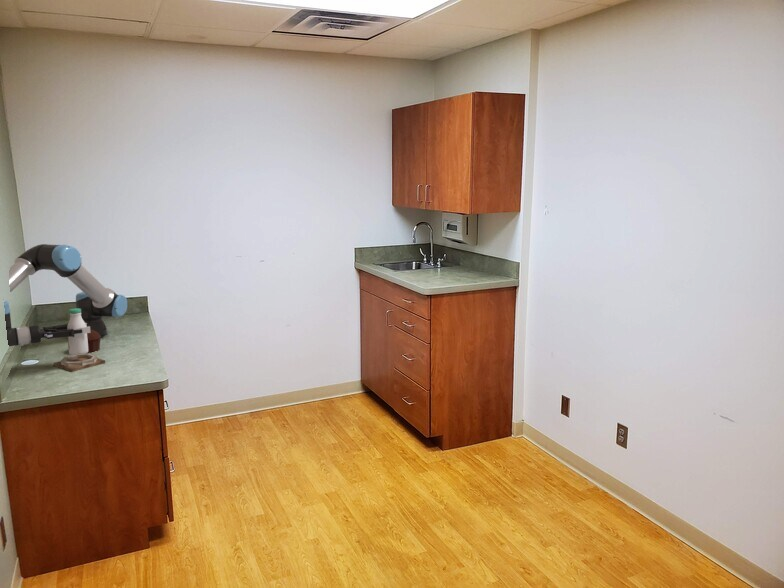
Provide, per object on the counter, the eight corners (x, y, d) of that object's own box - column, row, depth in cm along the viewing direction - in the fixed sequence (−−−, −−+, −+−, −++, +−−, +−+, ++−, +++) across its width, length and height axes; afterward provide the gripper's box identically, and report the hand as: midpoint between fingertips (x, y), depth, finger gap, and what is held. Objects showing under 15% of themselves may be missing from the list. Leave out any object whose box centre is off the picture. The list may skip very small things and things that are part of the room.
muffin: (103, 352, 289) (101, 331, 287) (77, 355, 284) (75, 334, 282) (100, 346, 299) (98, 326, 297) (75, 349, 294) (73, 329, 292)
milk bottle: (92, 351, 272) (88, 308, 269) (78, 356, 265) (74, 311, 261) (79, 350, 275) (75, 306, 271) (65, 354, 267) (61, 310, 264)
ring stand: (86, 357, 281) (86, 351, 281) (105, 362, 273) (104, 356, 273) (53, 365, 269) (53, 359, 268) (72, 371, 261) (71, 365, 260)
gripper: (27, 338, 266) (84, 331, 279) (33, 349, 250) (93, 340, 263) (25, 321, 265) (83, 315, 278) (31, 331, 248) (92, 324, 262)
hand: (88, 327), depth 271 cm, fingers closed on milk bottle, 7 cm apart
